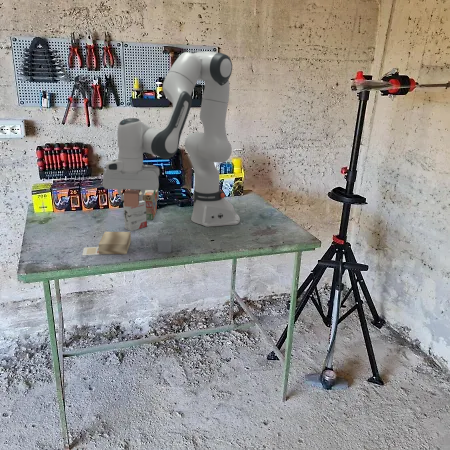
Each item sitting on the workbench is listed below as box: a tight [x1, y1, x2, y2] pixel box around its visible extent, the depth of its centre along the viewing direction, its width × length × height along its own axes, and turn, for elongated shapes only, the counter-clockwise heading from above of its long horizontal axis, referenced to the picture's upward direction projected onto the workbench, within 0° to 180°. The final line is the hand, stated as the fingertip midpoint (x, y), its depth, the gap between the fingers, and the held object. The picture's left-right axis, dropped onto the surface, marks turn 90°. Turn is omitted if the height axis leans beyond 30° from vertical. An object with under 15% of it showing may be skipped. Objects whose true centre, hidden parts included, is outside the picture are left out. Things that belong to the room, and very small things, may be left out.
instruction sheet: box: [81, 246, 101, 257], centre depth 157 cm, size 9×7×1 cm
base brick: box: [98, 231, 132, 255], centre depth 160 cm, size 10×12×4 cm
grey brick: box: [157, 234, 173, 253], centre depth 159 cm, size 5×5×5 cm
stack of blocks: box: [139, 188, 160, 221], centre depth 197 cm, size 21×6×12 cm, turn 1°
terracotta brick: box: [123, 189, 140, 207], centre depth 156 cm, size 5×5×5 cm
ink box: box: [122, 200, 148, 232], centre depth 178 cm, size 9×5×12 cm, turn 134°
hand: (131, 200), depth 156 cm, fingers closed on terracotta brick, 5 cm apart
